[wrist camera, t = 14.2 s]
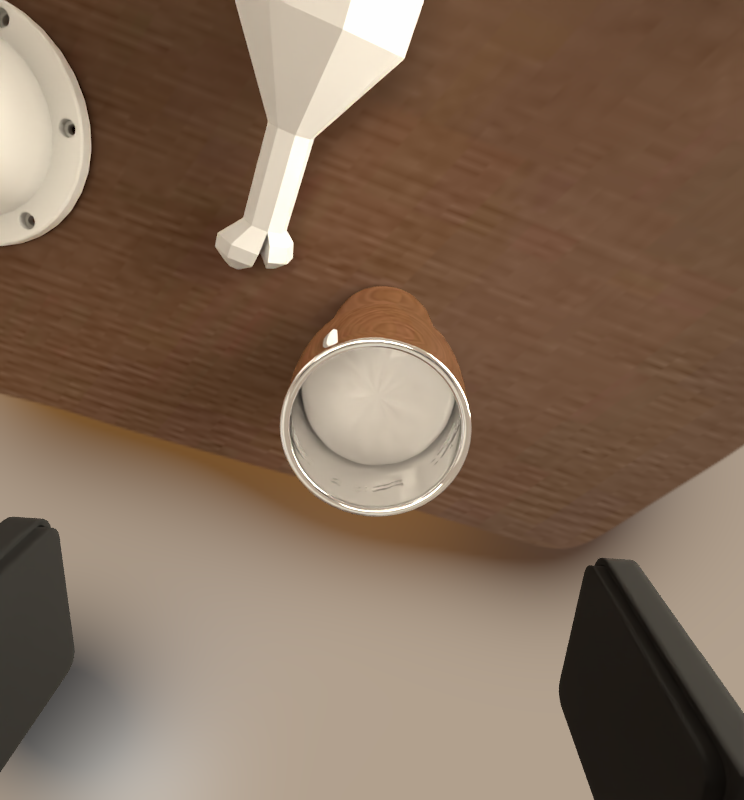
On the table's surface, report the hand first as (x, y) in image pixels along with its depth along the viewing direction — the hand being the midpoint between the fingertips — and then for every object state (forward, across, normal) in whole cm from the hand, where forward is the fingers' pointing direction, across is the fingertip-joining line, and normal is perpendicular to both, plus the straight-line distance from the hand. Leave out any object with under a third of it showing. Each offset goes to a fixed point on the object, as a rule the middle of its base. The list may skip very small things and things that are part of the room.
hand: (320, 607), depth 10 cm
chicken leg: (+25, +4, -12) cm, 27 cm away
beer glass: (+25, -1, 0) cm, 25 cm away
